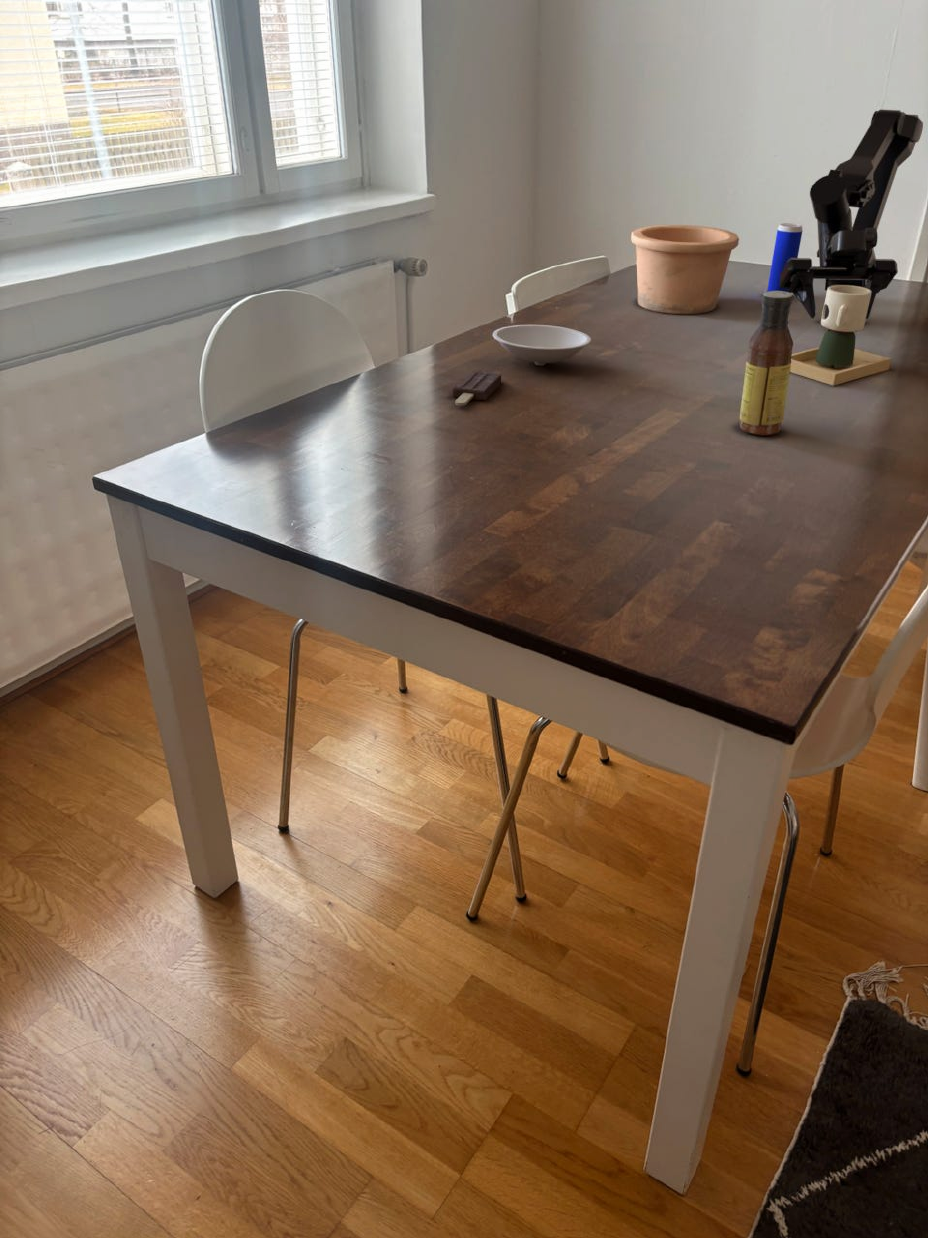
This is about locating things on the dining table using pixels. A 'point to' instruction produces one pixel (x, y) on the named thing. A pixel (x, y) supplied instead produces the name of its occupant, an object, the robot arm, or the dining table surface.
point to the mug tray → (861, 366)
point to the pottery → (681, 267)
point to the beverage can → (784, 252)
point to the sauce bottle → (768, 367)
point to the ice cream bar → (476, 386)
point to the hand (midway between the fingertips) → (840, 317)
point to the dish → (541, 342)
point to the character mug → (842, 323)
